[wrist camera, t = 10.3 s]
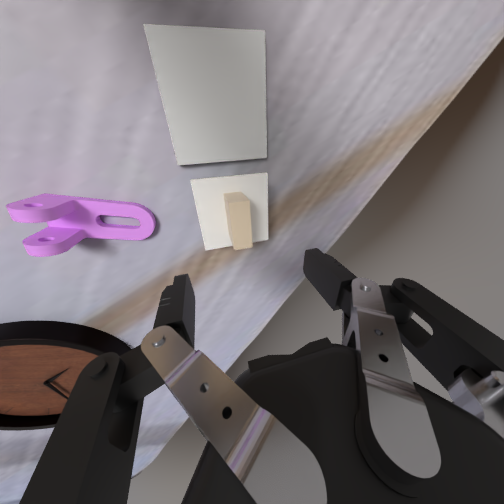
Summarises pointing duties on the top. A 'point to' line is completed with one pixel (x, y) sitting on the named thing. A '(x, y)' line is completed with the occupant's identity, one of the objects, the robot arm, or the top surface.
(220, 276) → the top surface
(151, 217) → the bracket
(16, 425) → the wall clock
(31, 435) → the top surface
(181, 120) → the mat
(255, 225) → the cover
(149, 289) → the top surface
